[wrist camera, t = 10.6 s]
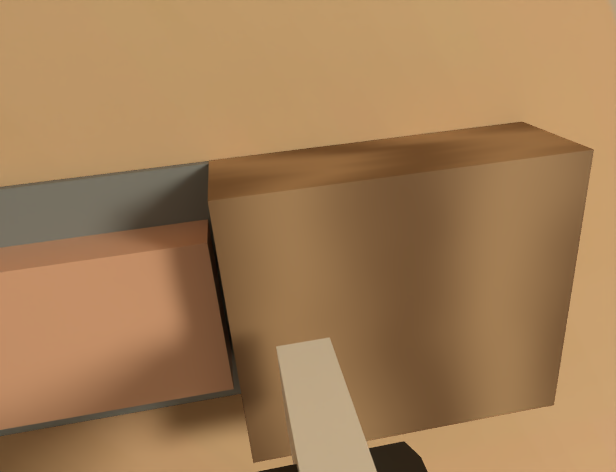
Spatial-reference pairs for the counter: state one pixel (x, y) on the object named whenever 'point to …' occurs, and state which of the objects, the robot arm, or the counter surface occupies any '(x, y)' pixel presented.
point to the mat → (109, 228)
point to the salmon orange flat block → (110, 323)
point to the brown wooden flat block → (403, 272)
